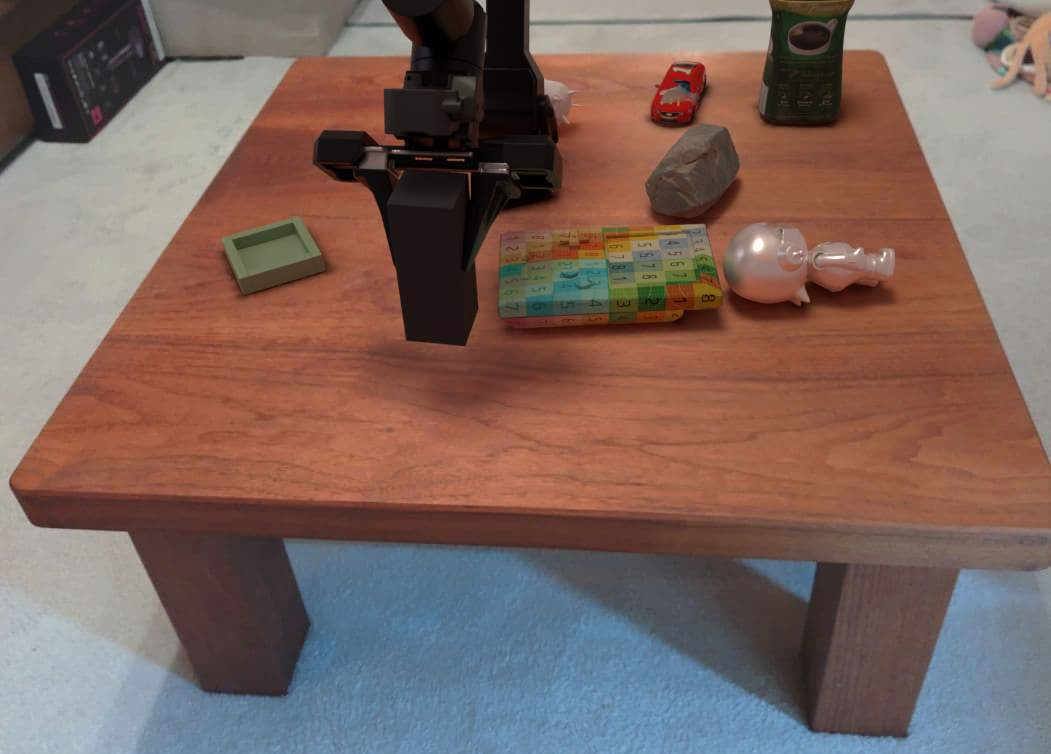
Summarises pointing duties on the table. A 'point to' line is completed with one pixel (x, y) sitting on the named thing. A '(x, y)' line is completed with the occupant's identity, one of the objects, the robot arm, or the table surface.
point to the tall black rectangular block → (433, 256)
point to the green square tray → (272, 254)
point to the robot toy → (560, 99)
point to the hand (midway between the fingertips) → (430, 269)
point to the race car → (679, 93)
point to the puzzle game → (605, 275)
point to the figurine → (796, 264)
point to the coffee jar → (804, 61)
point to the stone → (694, 172)
